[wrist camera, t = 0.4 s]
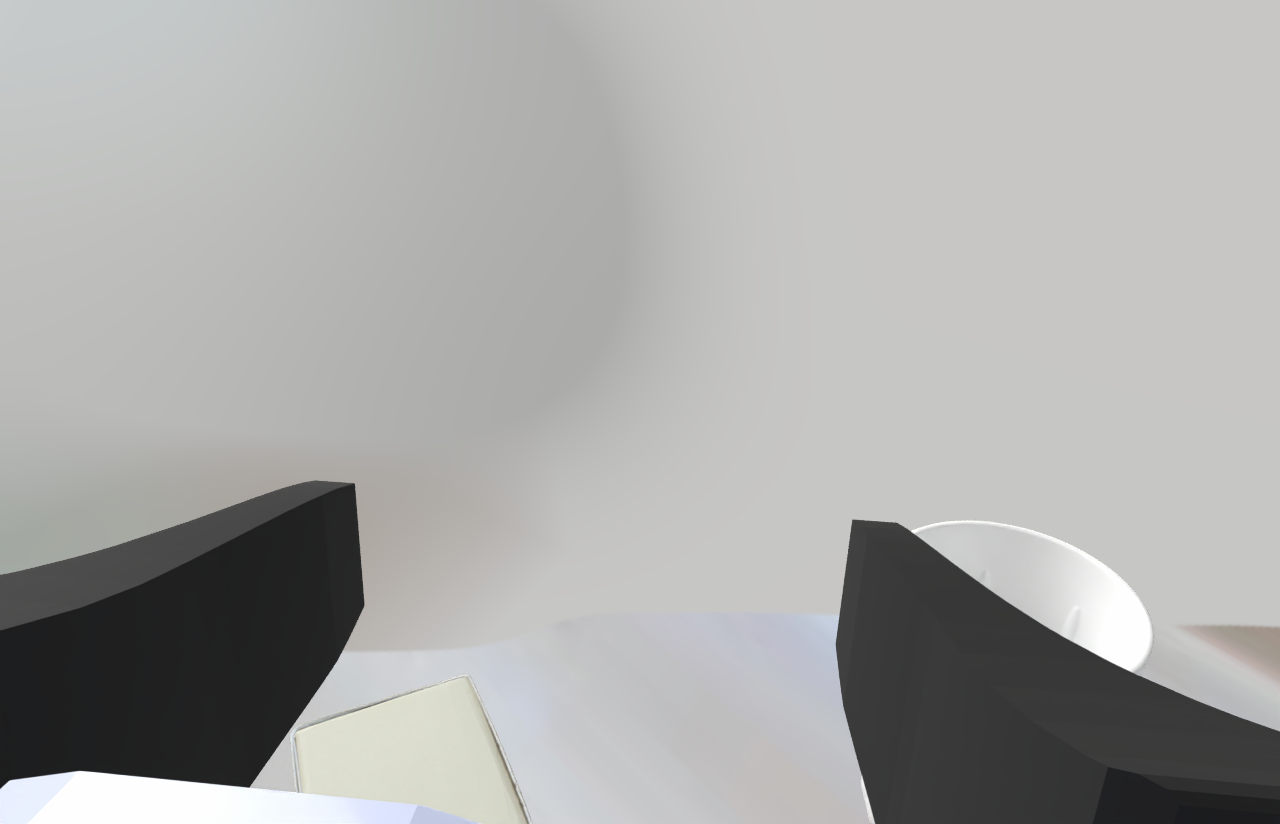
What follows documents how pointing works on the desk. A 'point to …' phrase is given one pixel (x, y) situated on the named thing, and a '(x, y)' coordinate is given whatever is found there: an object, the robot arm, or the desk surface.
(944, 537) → the white cup
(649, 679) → the desk surface
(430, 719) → the skincare box
